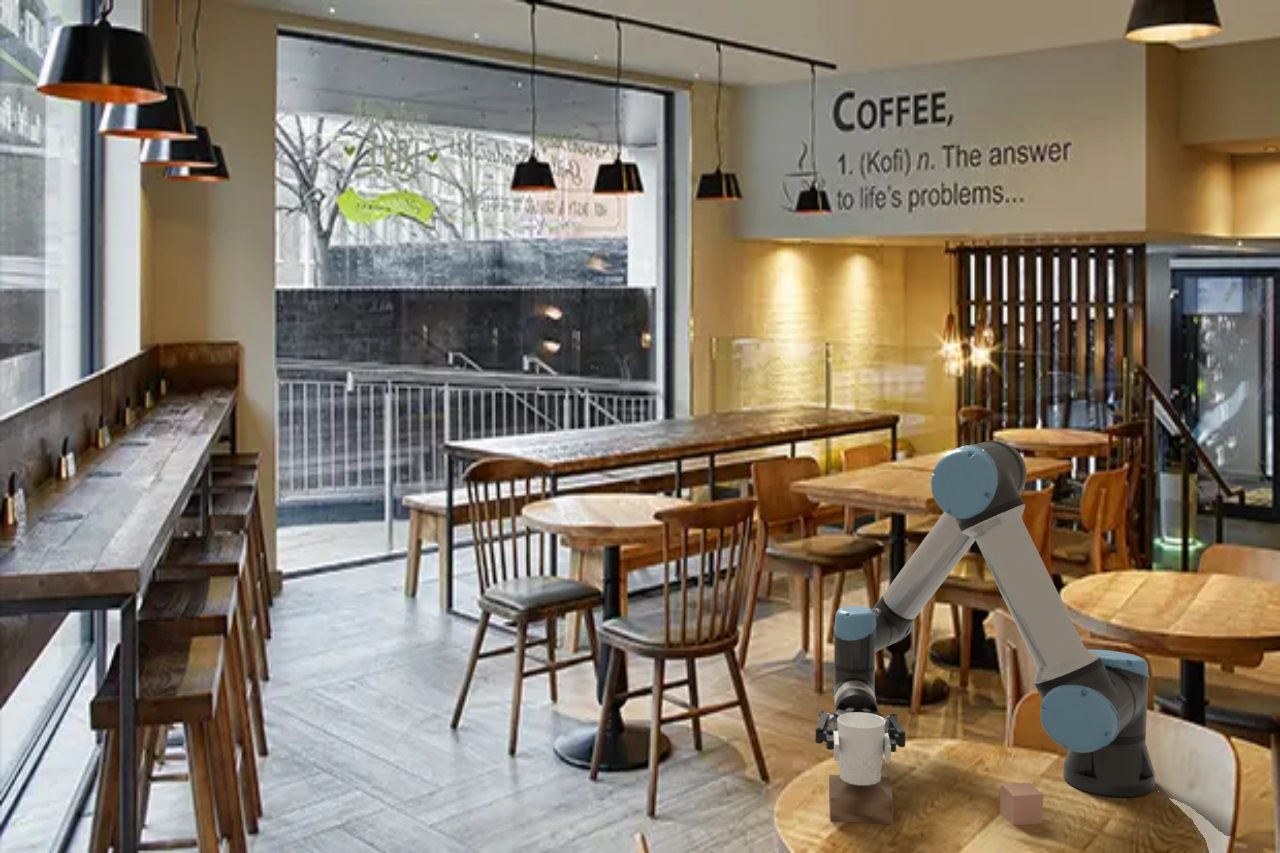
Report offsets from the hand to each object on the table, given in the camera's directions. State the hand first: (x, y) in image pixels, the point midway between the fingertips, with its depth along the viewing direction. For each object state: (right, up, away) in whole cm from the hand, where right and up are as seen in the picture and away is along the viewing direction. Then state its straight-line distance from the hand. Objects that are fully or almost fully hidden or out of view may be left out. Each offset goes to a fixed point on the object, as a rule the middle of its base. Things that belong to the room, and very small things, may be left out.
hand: (862, 753), depth 206 cm
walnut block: (+1, -11, +6) cm, 12 cm away
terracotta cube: (+26, -11, +3) cm, 29 cm away
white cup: (+1, -6, +5) cm, 8 cm away
